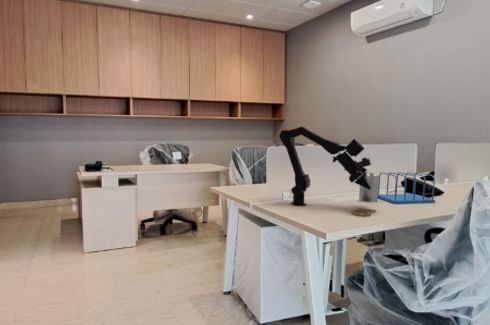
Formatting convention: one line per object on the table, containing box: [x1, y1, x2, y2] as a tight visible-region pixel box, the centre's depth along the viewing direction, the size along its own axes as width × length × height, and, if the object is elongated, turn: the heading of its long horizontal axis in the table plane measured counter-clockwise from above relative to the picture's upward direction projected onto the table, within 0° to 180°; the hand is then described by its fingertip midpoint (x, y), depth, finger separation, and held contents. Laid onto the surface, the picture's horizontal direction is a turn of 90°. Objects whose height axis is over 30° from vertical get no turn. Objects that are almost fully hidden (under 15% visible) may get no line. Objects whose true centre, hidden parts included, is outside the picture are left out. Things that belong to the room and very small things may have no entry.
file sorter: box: [377, 171, 436, 205], centre depth 196 cm, size 25×17×15 cm
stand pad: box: [357, 208, 377, 215], centre depth 166 cm, size 8×8×1 cm
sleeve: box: [362, 172, 375, 201], centre depth 165 cm, size 4×4×13 cm
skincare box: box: [358, 174, 379, 203], centre depth 189 cm, size 8×6×15 cm
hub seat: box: [350, 209, 372, 218], centre depth 159 cm, size 11×11×2 cm
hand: (370, 188), depth 164 cm, fingers closed on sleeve, 4 cm apart
